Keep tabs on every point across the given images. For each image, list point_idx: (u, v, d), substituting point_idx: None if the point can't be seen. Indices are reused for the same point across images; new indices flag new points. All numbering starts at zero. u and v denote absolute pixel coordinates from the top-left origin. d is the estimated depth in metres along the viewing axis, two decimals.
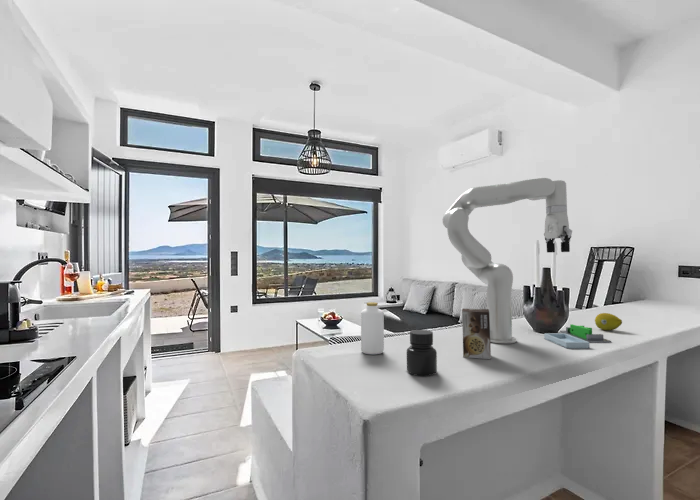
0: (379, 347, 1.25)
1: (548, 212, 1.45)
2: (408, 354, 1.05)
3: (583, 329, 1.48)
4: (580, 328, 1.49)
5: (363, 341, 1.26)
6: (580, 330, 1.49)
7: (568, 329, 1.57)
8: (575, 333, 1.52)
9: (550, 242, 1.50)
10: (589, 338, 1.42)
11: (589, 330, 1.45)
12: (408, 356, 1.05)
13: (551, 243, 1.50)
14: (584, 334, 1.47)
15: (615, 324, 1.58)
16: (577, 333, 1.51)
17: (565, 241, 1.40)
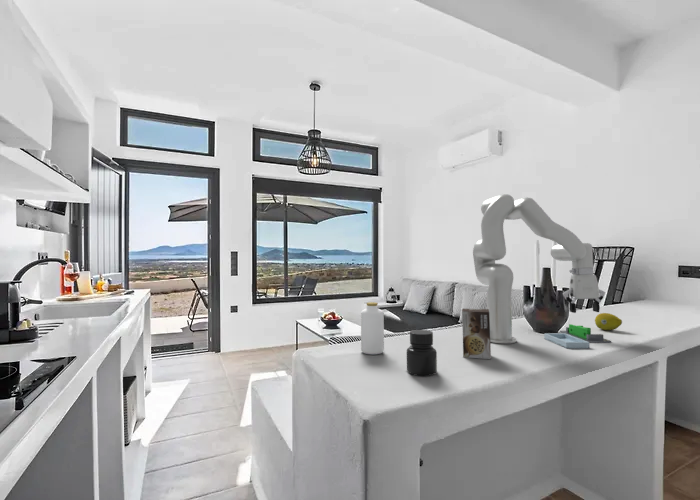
0: (379, 347, 1.25)
1: (589, 273, 1.47)
2: (408, 354, 1.05)
3: (582, 329, 1.48)
4: (579, 328, 1.49)
5: (363, 341, 1.26)
6: (579, 330, 1.49)
7: (568, 329, 1.57)
8: (574, 333, 1.52)
9: None
10: (589, 338, 1.42)
11: (588, 330, 1.45)
12: (408, 356, 1.05)
13: None
14: (583, 334, 1.47)
15: (615, 324, 1.58)
16: (575, 333, 1.51)
17: None
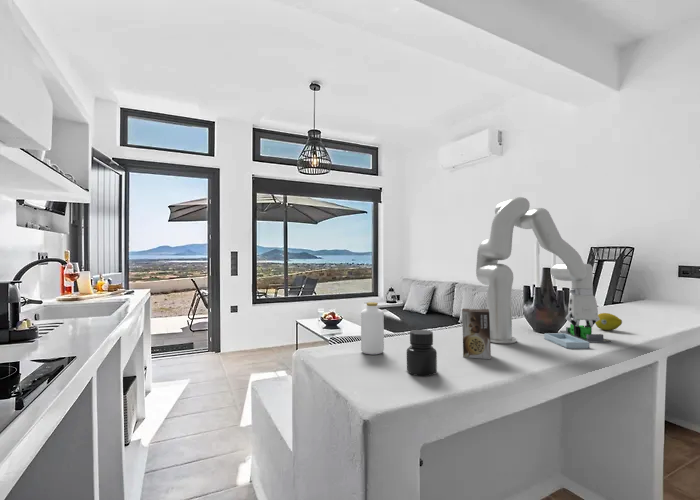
0: (379, 347, 1.25)
1: (588, 294, 1.47)
2: (408, 354, 1.05)
3: (582, 329, 1.48)
4: None
5: (363, 341, 1.26)
6: None
7: (568, 329, 1.57)
8: None
9: None
10: (589, 338, 1.42)
11: (587, 330, 1.45)
12: (408, 356, 1.05)
13: None
14: (583, 334, 1.47)
15: (615, 324, 1.58)
16: None
17: None
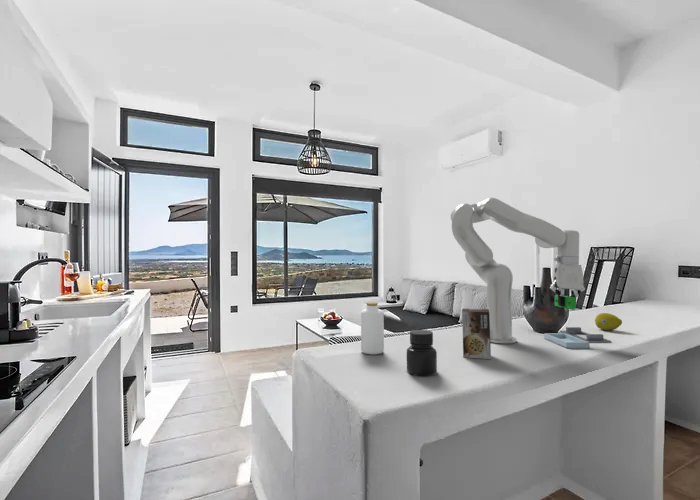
0: (379, 347, 1.25)
1: (574, 262, 1.39)
2: (408, 354, 1.05)
3: (566, 298, 1.40)
4: None
5: (363, 341, 1.26)
6: None
7: (568, 329, 1.57)
8: None
9: None
10: (589, 338, 1.42)
11: (572, 299, 1.37)
12: (408, 356, 1.05)
13: None
14: (567, 303, 1.39)
15: (615, 324, 1.58)
16: None
17: None
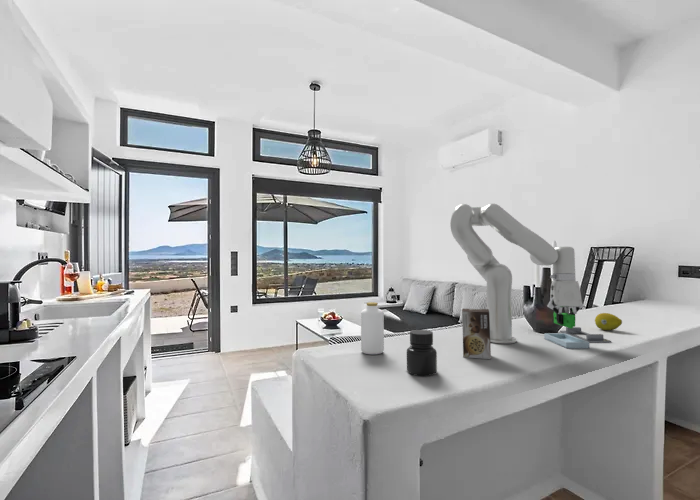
0: (379, 347, 1.25)
1: (571, 279, 1.36)
2: (408, 354, 1.05)
3: (565, 316, 1.37)
4: None
5: (363, 341, 1.26)
6: None
7: (568, 329, 1.57)
8: None
9: None
10: (589, 338, 1.42)
11: (570, 317, 1.34)
12: (408, 356, 1.05)
13: None
14: (566, 322, 1.36)
15: (615, 324, 1.58)
16: None
17: None
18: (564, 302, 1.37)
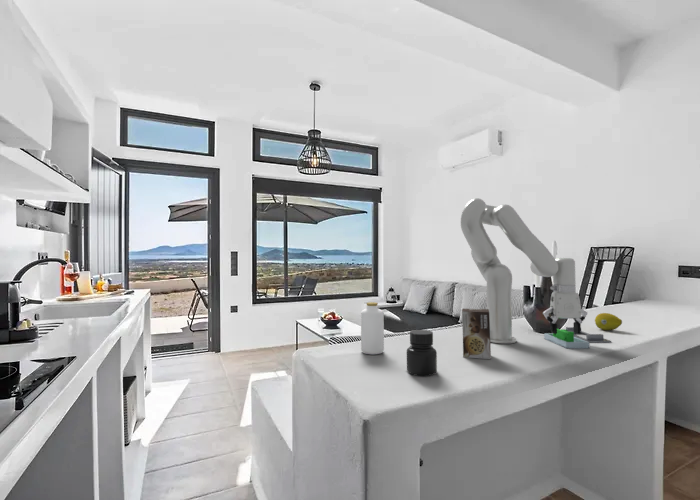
0: (379, 347, 1.25)
1: (571, 291, 1.36)
2: (408, 354, 1.05)
3: (563, 333, 1.37)
4: (561, 332, 1.39)
5: (363, 341, 1.26)
6: (561, 334, 1.39)
7: (568, 329, 1.57)
8: (557, 337, 1.42)
9: None
10: (589, 338, 1.42)
11: (568, 334, 1.34)
12: (408, 356, 1.05)
13: None
14: (564, 339, 1.36)
15: (615, 324, 1.58)
16: (558, 337, 1.41)
17: None
18: (564, 314, 1.37)
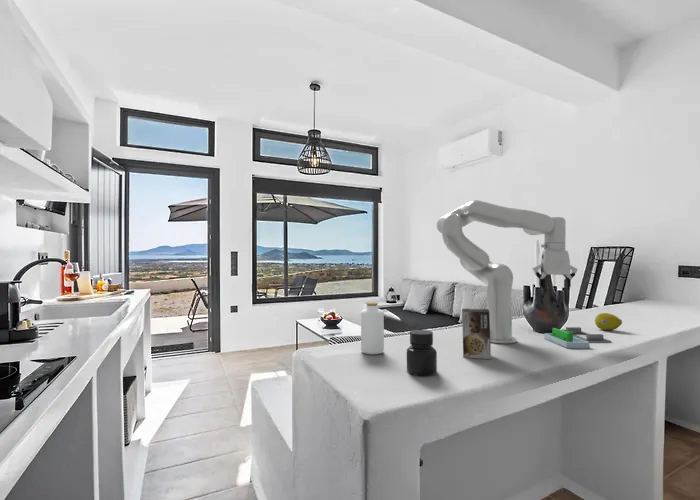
0: (379, 347, 1.25)
1: (560, 248, 1.42)
2: (408, 354, 1.05)
3: (562, 333, 1.37)
4: (560, 332, 1.39)
5: (363, 341, 1.26)
6: (560, 334, 1.39)
7: (568, 329, 1.57)
8: (556, 337, 1.42)
9: None
10: (589, 338, 1.42)
11: (567, 334, 1.34)
12: (408, 356, 1.05)
13: None
14: (563, 339, 1.36)
15: (615, 324, 1.58)
16: (557, 337, 1.41)
17: None
18: (553, 270, 1.43)
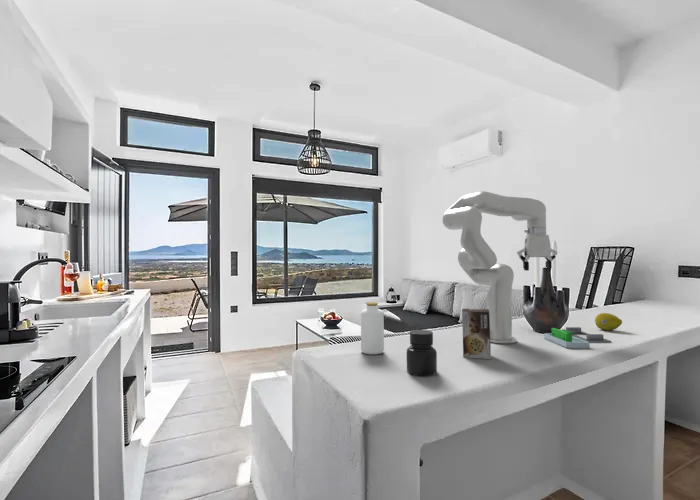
0: (379, 347, 1.25)
1: (542, 232, 1.54)
2: (408, 354, 1.05)
3: (561, 333, 1.37)
4: (559, 332, 1.39)
5: (363, 341, 1.26)
6: (559, 334, 1.39)
7: (568, 329, 1.57)
8: None
9: None
10: (589, 338, 1.42)
11: (567, 334, 1.34)
12: (408, 356, 1.05)
13: None
14: (562, 339, 1.37)
15: (615, 324, 1.58)
16: (556, 337, 1.41)
17: None
18: (535, 253, 1.55)
